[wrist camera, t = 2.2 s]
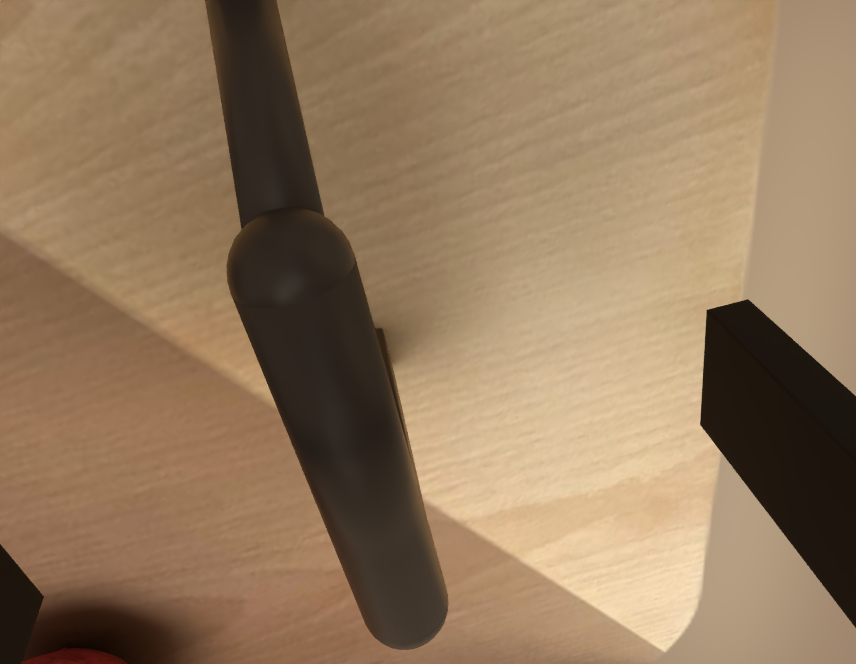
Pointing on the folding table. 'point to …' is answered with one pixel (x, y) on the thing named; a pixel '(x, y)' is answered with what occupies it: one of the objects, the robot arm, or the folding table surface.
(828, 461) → the robot arm
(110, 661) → the fruit
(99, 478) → the folding table surface
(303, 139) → the ladle
